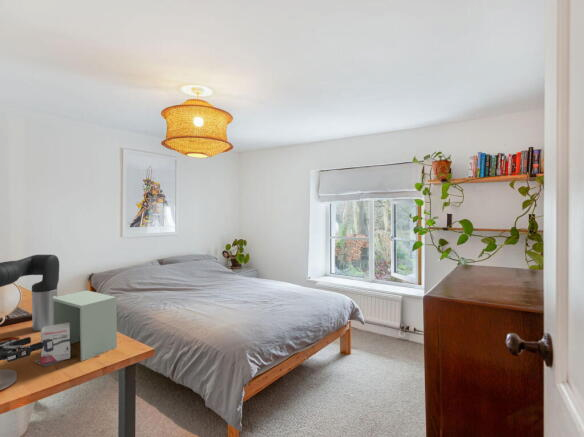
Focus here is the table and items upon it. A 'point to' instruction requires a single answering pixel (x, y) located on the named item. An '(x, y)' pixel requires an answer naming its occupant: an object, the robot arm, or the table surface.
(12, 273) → the robot arm
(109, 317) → the cubby
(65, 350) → the ink box
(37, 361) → the coaster
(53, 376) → the table surface
